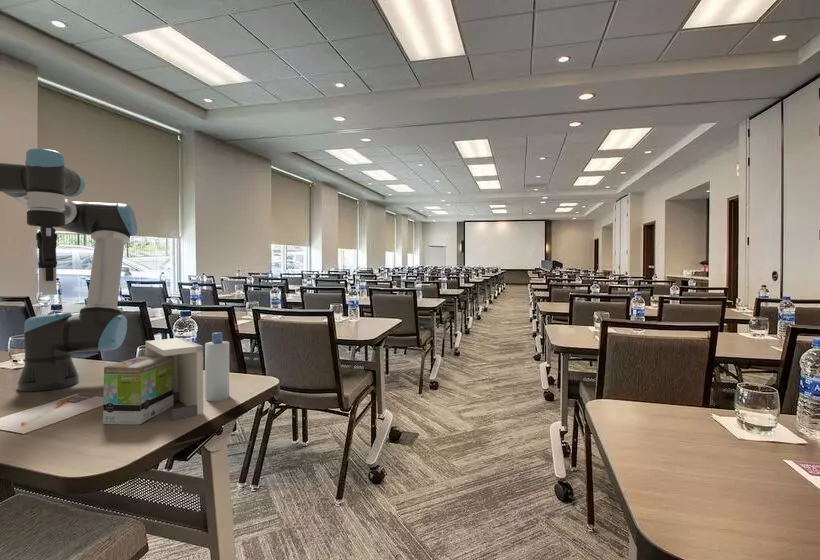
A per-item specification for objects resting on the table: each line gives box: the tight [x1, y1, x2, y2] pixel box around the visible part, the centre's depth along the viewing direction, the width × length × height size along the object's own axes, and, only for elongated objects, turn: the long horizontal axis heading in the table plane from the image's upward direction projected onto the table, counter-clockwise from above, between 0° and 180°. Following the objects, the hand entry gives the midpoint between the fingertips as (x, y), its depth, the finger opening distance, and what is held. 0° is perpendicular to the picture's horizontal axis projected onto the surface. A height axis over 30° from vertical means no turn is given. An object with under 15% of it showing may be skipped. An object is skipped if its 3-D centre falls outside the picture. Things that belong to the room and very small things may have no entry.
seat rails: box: [170, 392, 198, 421], centre depth 119 cm, size 18×6×2 cm, turn 43°
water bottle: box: [204, 331, 230, 402], centre depth 128 cm, size 7×7×20 cm
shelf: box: [145, 337, 204, 416], centre depth 119 cm, size 19×10×18 cm, turn 43°
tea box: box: [102, 355, 174, 426], centre depth 114 cm, size 15×10×15 cm
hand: (47, 293), depth 110 cm, fingers open, 13 cm apart
